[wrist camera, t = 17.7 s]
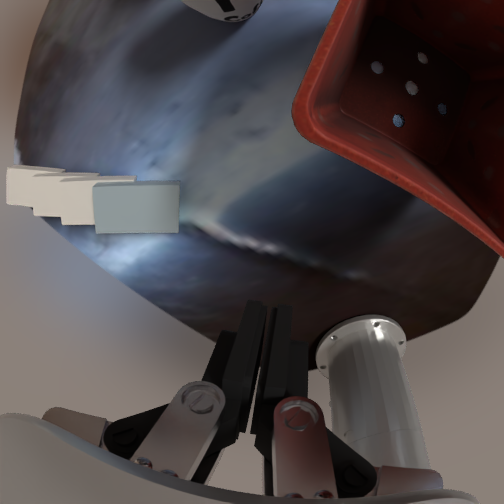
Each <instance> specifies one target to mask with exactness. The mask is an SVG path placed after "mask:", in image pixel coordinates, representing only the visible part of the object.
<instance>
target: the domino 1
mask: <svg viewBox="0 0 504 504" xmlns="http://www.w3.org/2000/svg"><path fill="white" fill-rule="evenodd" d="M65 171H66V169H58V168H47V167H36V166H24V165H13V166H10V167H8V168H7V204H12V205H20V206H27V207H33V200H32V179H31V177H32V176H34V175H35V174H37V173H65Z"/></svg>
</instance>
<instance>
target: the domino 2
mask: <svg viewBox="0 0 504 504" xmlns="http://www.w3.org/2000/svg"><path fill="white" fill-rule="evenodd" d="M93 176H100V173H37V174H35V175H34V176H32V177H31V179H32V200H33V213H34V216H53V217H61V212H60V201H59V188H58V182H59V181H61V180H62V179H64V178H71V177H93Z"/></svg>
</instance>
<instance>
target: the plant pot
mask: <svg viewBox="0 0 504 504" xmlns="http://www.w3.org/2000/svg"><path fill="white" fill-rule="evenodd" d="M420 52H422V53H424V54H426V56H427V57H428V63H427V64H422V63H421V62H420V61H419V60H418V57H417V55H418V53H420ZM374 61H378V62H380V63H382V65H383V66H384V71H383V72H382V73H381V74H376V73H375V72H373V70H372V69H371V64H372V62H374ZM410 80H411V81H414V82H416V83H417V85H418V87H419V92H418V94H417V95H410V94H409V93H408V91H407V90H406V87H405V85H406V82H407V81H410ZM439 103H444V104H445V105H446V106H447V110H448V111H447V114H446V115H444V116H443V115H441V114H440V113H439V110H438V104H439ZM291 112H292V118H293V122H294V125H295V127H296V129H297V131H298V132H299V133H300V134H301V136H303V137H304V138H305V139H307V140H308V141H309V142H311V143H313V144H316V145H318V146H320V147H322V148H325V149H327V150H329V151H331V152H333V153H335V154H337V155H339V156H342V157H344V158H346V159H348V160H350V161H352V162H354V163H356V164H358V165H360V166H362V167H364V168H366V169H367V170H369V171H371V172H373V173H375V174H377V175H379V176H381V177H383V178H384V179H386V180H388V181H390V182H392V183H394V184H395V185H397V186H399V187H401V188H403V189H404V190H406V191H408V192H409V193H411V194H413V195H415V196H416V197H418V198H420V199H421V200H423V201H424V202H426V203H428V204H429V205H431V206H432V207H434V208H436V209H437V210H439V211H440V212H442V213H443V214H445V215H446V216H448V217H449V218H451V219H452V220H454V221H455V222H457V223H458V224H459V225H461V226H462V227H464V228H465V229H466V230H468V231H469V232H471V233H472V234H473V235H475V236H476V237H477V238H479V239H480V240H481V241H483V242H484V243H485V244H486V245H488V246H489V247H490V248H491V249H493V250H494V251H495V252H496V253H498V254H499V255H500V256H502V258H504V0H339V1H338V3H337V5H336V7H335V10H334V12H333V14H332V16H331V18H330V21H329V23H328V25H327V27H326V29H325V31H324V33H323V36H322V38H321V40H320V42H319V44H318V47H317V49H316V51H315V53H314V55H313V58H312V60H311V62H310V64H309V67H308V69H307V71H306V73H305V75H304V78H303V80H302V82H301V84H300V87H299V89H298V91H297V93H296V96H295V98H294V101H293V104H292V110H291ZM395 114H401V115H402V116H403V117H404V119H405V124H404V126H402V127H396V126H395V125H394V123H393V117H394V115H395Z"/></svg>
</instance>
